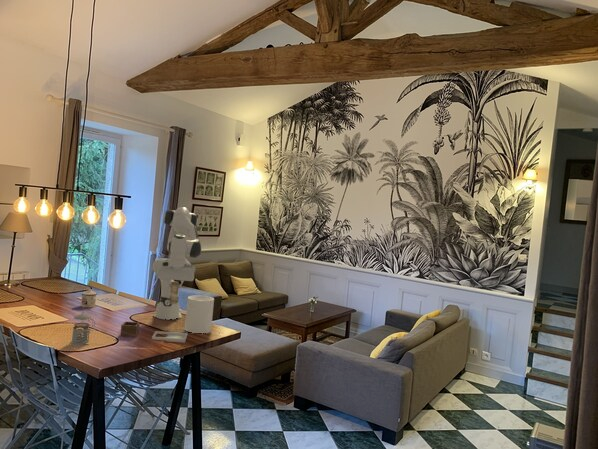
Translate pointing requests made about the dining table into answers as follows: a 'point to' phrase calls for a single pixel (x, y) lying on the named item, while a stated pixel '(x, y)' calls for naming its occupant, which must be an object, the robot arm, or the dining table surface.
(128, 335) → the pen pot
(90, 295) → the teacup with lid
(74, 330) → the french press
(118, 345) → the dining table surface
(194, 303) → the canister
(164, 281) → the robot arm
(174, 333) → the tray
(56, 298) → the dining table surface
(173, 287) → the dowel
